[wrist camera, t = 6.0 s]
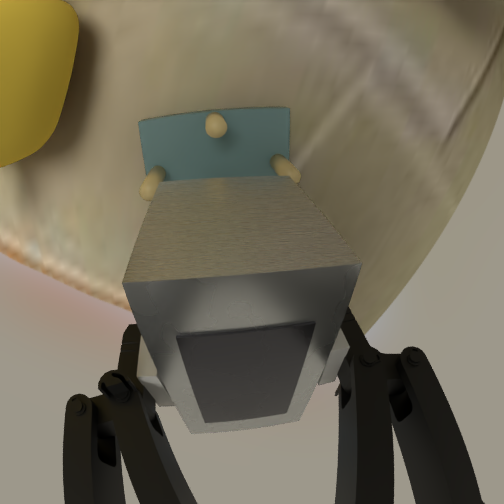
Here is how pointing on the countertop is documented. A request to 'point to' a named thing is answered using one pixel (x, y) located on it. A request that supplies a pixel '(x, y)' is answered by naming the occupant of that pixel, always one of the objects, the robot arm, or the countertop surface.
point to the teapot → (33, 72)
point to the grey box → (238, 297)
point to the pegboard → (216, 145)
